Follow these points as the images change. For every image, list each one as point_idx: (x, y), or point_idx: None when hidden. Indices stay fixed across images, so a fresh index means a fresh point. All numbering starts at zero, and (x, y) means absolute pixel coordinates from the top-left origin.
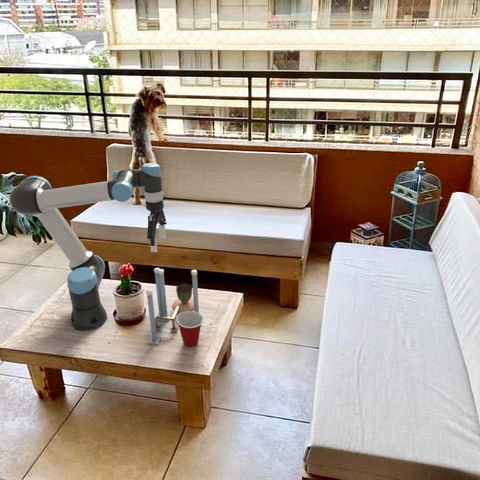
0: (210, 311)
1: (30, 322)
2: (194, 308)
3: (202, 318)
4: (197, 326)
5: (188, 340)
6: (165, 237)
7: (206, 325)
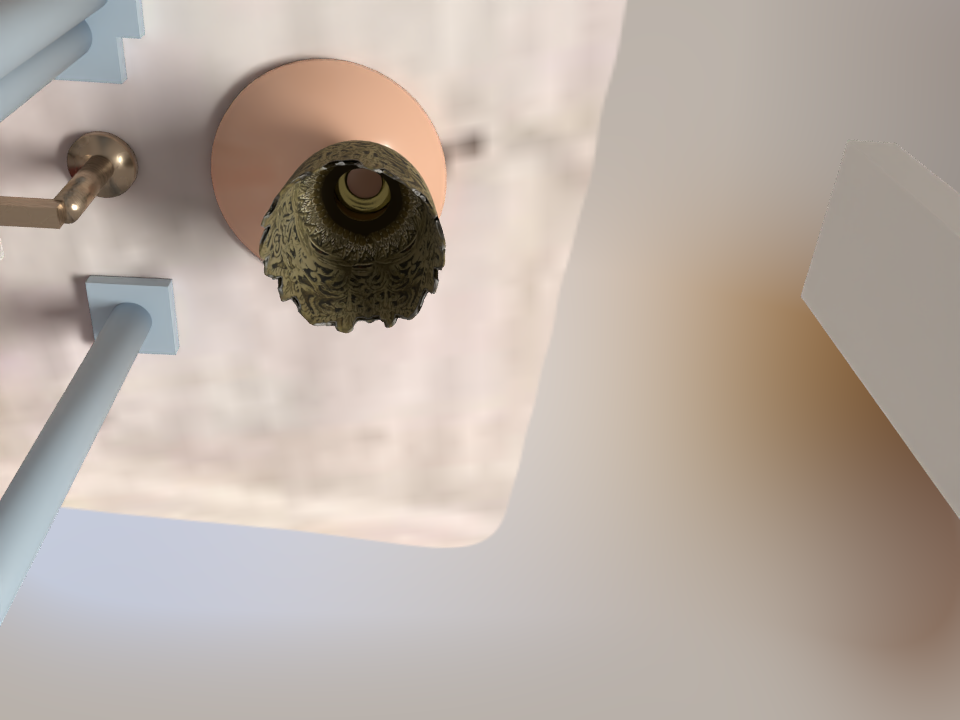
0: (269, 393)
1: None
2: (80, 365)
3: None
4: None
5: None
6: (824, 313)
7: None
